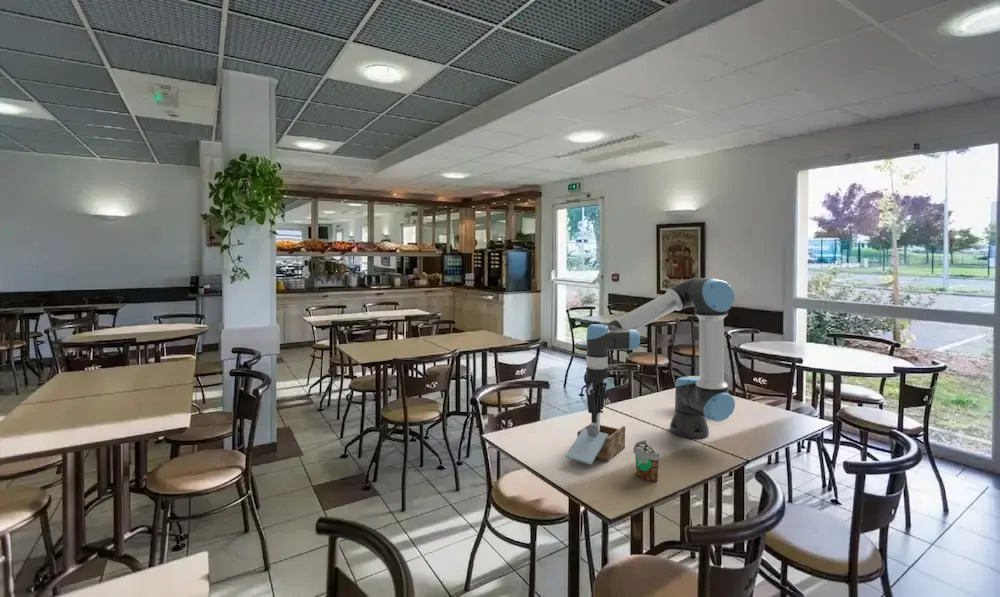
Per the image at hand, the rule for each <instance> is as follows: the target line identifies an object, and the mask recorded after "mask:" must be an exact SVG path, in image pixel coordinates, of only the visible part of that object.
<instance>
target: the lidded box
mask: <svg viewBox="0 0 1000 597" xmlns="http://www.w3.org/2000/svg"><path fill="white" fill-rule="evenodd" d="M590 425H591V423H590V424H588V425H586V426H585V427H583V428H582V429H580V430H579V431H577V432H576V433H577V434H576V435H577V437H578V436H579V434H580V433H581V431H582V430H583V429H584V428H585V429H588V427H589V426H590ZM598 432H602V433H606V434H608V435H609V436H608V437H607V438H606V441H605V443H604V445H603V446H602V448H601V450H600V451H599V453H598V454H597V456H596V458H595V459H594V460H597V461H600V462H606V463H609V462H610V461H611V460H612V459H613V458H615V457H617V455H618V454H619V453H620V452H622V451H623V450H624V449H625V448H626V426H624V425H622V426H621V427H620V428H617V427H611V426H608V425H603V424H600V431H598ZM577 437H576V438H577Z"/></svg>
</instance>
